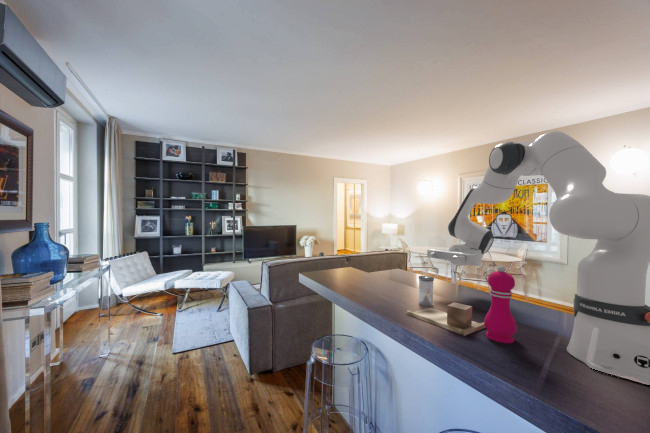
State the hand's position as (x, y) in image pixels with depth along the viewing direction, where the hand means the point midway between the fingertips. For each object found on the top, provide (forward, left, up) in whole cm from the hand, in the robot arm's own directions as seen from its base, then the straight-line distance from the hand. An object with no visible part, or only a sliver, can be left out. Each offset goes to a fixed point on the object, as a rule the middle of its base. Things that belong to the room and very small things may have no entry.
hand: (443, 257), depth 108 cm
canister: (-1, +12, -17) cm, 21 cm away
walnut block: (-20, +23, -16) cm, 34 cm away
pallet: (-14, +21, -17) cm, 31 cm away
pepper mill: (-29, +20, -18) cm, 40 cm away
